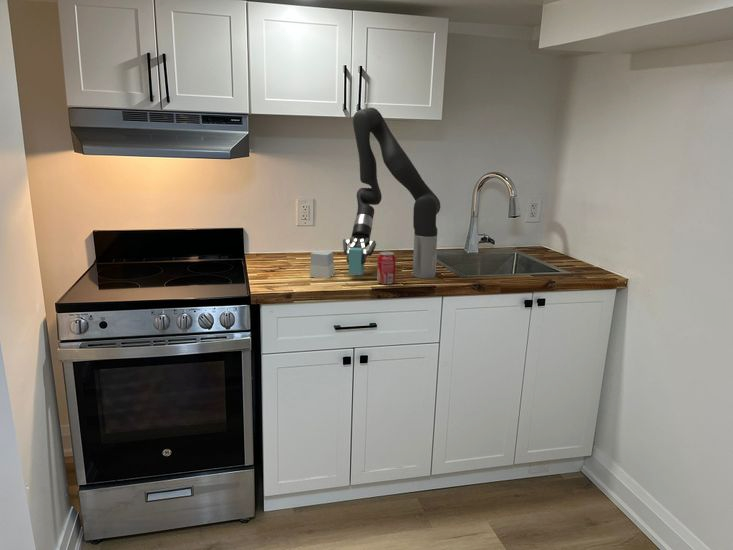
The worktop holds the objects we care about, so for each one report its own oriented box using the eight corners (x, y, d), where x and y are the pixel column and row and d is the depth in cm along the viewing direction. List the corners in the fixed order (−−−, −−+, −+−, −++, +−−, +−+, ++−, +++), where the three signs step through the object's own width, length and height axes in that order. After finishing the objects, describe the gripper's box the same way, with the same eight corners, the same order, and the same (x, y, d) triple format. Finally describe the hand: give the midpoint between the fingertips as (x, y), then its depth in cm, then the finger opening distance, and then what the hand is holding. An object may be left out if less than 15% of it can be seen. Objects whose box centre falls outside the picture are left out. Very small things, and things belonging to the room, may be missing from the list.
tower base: (334, 274, 226) (334, 263, 224) (328, 279, 218) (328, 267, 217) (315, 273, 227) (315, 261, 226) (309, 278, 220) (309, 266, 218)
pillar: (364, 272, 221) (364, 247, 218) (361, 275, 216) (361, 250, 214) (352, 271, 222) (351, 247, 220) (348, 274, 217) (348, 249, 215)
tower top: (333, 263, 224) (333, 251, 222) (327, 267, 217) (327, 255, 216) (317, 261, 226) (317, 249, 224) (310, 265, 219) (310, 253, 218)
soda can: (384, 279, 219) (385, 250, 216) (398, 282, 215) (399, 253, 212) (373, 283, 214) (373, 253, 211) (387, 286, 209) (388, 255, 206)
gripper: (343, 221, 223) (335, 257, 215) (378, 223, 220) (371, 259, 211) (347, 232, 229) (339, 267, 221) (380, 233, 226) (374, 269, 218)
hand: (355, 262), depth 216 cm, fingers closed on pillar, 5 cm apart
